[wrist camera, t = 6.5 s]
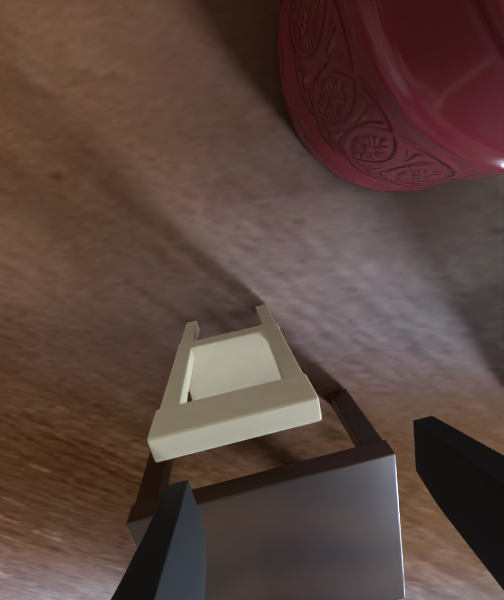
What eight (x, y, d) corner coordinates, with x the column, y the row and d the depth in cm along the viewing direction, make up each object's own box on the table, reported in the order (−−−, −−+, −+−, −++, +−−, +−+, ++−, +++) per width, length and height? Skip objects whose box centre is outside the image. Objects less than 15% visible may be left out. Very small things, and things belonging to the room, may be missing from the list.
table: (361, 507, 24) (405, 598, 19) (197, 551, 24) (190, 660, 18) (346, 386, 21) (395, 453, 15) (152, 435, 20) (125, 524, 14)
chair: (184, 319, 18) (145, 440, 8) (266, 300, 18) (319, 396, 9) (205, 392, 19) (194, 562, 10) (280, 373, 20) (339, 523, 10)
